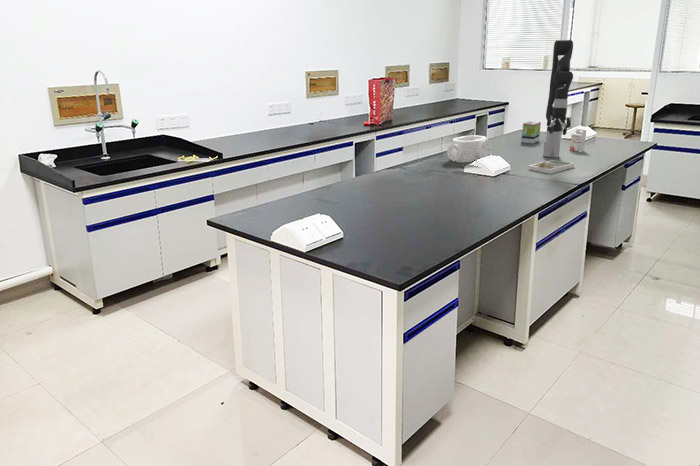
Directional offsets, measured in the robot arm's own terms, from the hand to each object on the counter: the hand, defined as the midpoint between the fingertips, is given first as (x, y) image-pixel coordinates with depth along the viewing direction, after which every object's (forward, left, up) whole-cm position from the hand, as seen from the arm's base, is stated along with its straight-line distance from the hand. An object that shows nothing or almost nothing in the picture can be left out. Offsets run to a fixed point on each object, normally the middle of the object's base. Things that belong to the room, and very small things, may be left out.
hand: (557, 134), depth 326 cm
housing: (-53, -15, -21) cm, 59 cm away
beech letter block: (-1, -10, -21) cm, 23 cm away
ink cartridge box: (-21, +59, -21) cm, 66 cm away
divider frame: (-1, -2, -21) cm, 21 cm away
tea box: (-65, +67, -21) cm, 95 cm away
